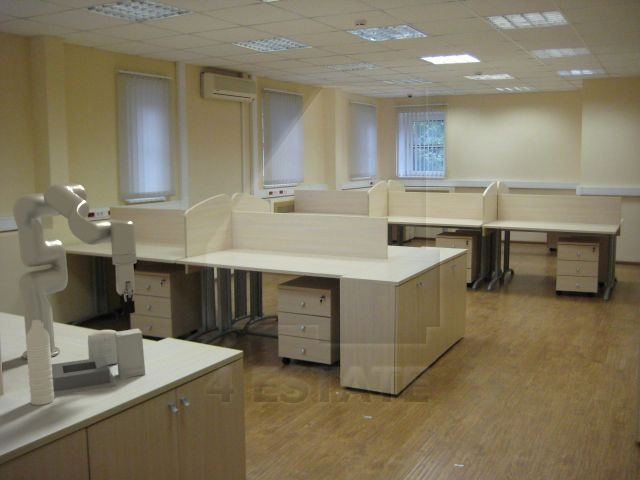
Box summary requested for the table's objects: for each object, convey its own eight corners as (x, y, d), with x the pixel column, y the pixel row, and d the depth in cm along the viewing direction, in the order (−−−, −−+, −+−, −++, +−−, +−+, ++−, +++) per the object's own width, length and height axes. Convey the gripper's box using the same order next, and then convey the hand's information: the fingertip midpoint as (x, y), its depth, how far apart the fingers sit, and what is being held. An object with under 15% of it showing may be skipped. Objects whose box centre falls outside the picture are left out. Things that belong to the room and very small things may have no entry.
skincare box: (142, 369, 223) (139, 327, 221) (145, 375, 217) (143, 331, 215) (116, 373, 219) (114, 330, 217) (119, 379, 214) (117, 335, 212)
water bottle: (29, 400, 197) (22, 319, 193) (52, 395, 200) (45, 316, 197) (34, 409, 189) (27, 326, 186) (57, 404, 193) (51, 322, 190)
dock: (46, 378, 216) (45, 363, 215) (109, 369, 224) (108, 355, 223) (48, 396, 200) (46, 380, 199) (115, 385, 208) (115, 370, 207)
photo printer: (117, 360, 234) (115, 326, 232) (121, 363, 230) (118, 329, 228) (87, 365, 228) (85, 331, 226) (91, 369, 224) (88, 334, 223)
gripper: (109, 256, 219) (112, 306, 221) (115, 263, 204) (119, 317, 206) (132, 254, 222) (135, 303, 225) (140, 261, 207) (143, 314, 209)
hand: (127, 310), depth 215 cm, fingers open, 9 cm apart
